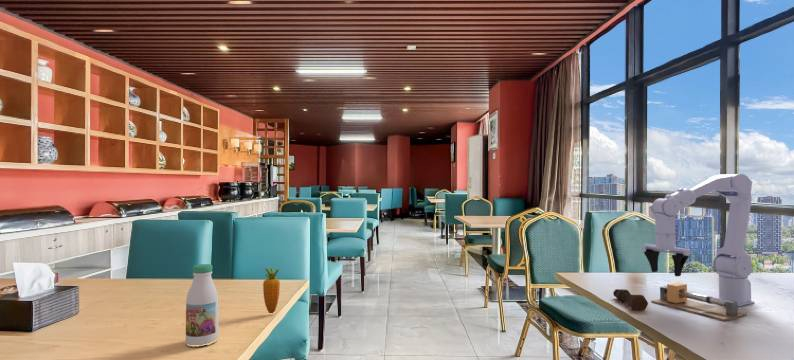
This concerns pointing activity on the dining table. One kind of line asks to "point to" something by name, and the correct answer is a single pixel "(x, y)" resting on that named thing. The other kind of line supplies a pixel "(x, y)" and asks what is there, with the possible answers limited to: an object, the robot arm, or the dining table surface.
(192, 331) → the milk bottle
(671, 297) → the collar
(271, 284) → the carrot
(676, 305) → the board
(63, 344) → the dining table surface
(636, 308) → the bolt
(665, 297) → the rail
